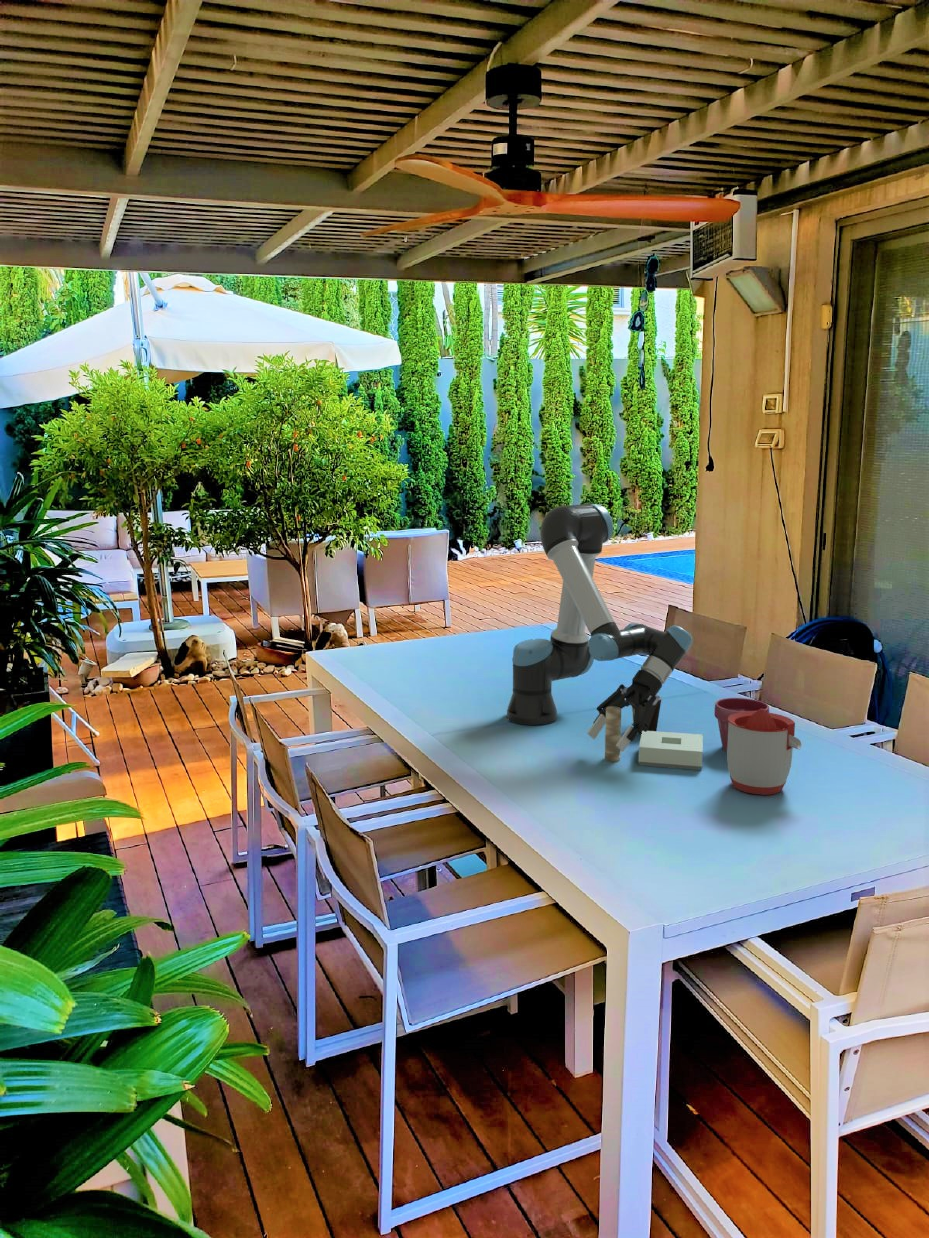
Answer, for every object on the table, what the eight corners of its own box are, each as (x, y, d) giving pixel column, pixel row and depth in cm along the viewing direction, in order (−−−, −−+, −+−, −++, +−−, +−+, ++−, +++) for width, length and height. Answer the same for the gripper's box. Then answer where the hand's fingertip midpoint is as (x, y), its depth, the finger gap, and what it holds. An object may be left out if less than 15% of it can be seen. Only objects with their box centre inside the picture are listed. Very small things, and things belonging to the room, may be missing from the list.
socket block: (638, 765, 246) (638, 746, 245) (641, 747, 260) (642, 730, 259) (701, 770, 243) (702, 751, 242) (701, 752, 256) (702, 734, 255)
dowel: (603, 761, 250) (605, 710, 247) (605, 756, 253) (606, 705, 251) (619, 762, 249) (620, 711, 246) (620, 757, 252) (622, 706, 250)
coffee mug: (660, 736, 270) (661, 702, 268) (629, 734, 271) (630, 700, 269) (660, 723, 281) (661, 691, 279) (630, 722, 282) (631, 689, 280)
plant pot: (730, 737, 268) (732, 693, 266) (776, 749, 258) (779, 703, 256) (702, 749, 258) (704, 704, 256) (749, 761, 249) (752, 715, 246)
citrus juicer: (789, 805, 220) (795, 723, 216) (715, 791, 229) (719, 711, 225) (805, 784, 233) (810, 706, 229) (734, 771, 242) (738, 695, 238)
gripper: (689, 695, 245) (642, 763, 241) (629, 675, 265) (584, 737, 260) (675, 678, 242) (626, 747, 237) (615, 659, 261) (569, 722, 257)
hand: (604, 742), depth 249 cm, fingers open, 11 cm apart
